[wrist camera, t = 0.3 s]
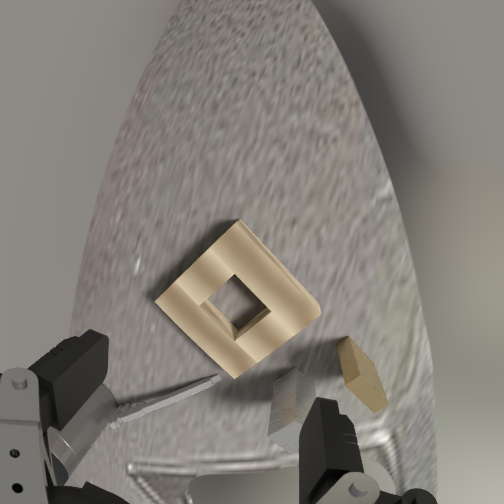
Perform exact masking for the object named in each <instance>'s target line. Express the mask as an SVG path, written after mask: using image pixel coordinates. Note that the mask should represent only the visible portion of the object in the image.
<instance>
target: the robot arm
mask: <svg viewBox="0 0 504 504" xmlns="http://www.w3.org/2000/svg"><path fill="white" fill-rule="evenodd" d="M108 347H109V339H108V336H106V335H103V334H101V333H99V332H96V331H94V330H91V329H89V330H88V331H86V332H85V333H84V334H83V335H81V336H80V337H76V336H74V337H71V338H68V339H65V340H63V341H62V342H61V343H59V344H58V345H57V346H56V347H54V348H53V349H51V350H50V352H48V353H46V354H45V355H44V356H43V357H41V358H40V359H39V360H38V361H36V362H35V363H34V364H33V365H31V366H30V367H29V368H28V369H25V368H12V369H9V370H7V371H6V372H4V374H2V373H0V504H130V503H128V502H127V501H125V500H124V499H122V498H121V497H119V496H117V495H115V494H113V493H111V492H108V491H106V490H104V489H102V488H99V487H97V486H95V485H93V484H91V483H89V482H87V481H86V483H85V484H84V486H83V487H82V488H78V487H72V486H64V484H65V483H66V482H67V480H68V479H69V477H70V476H71V475H72V473H73V472H74V470H75V469H76V467H77V466H78V464H79V463H80V462H81V460H82V459H83V457H84V456H85V455H86V453H87V452H88V450H89V449H90V448H91V446H92V445H93V443H94V442H95V441H96V439H97V438H98V436H99V435H100V434H101V432H102V431H103V430H104V428H105V427H106V426H107V424H108V423H109V421H110V419H111V417H112V415H113V413H114V412H115V411H116V409H117V404H116V401H115V399H114V397H113V395H112V394H111V392H110V391H109V390H108V389H107V388H106V387H105V386H104V385H103V384H102V382H103V381H104V379H105V377H106V374H107V370H108ZM357 443H358V442H357V437H356V433H355V428H354V425H353V423H352V422H351V421H350V419H349V418H348V416H347V415H342V414H340V413H339V408H338V403H337V401H336V400H331V399H326V398H320V397H317V398H316V399H315V400H314V402H313V404H312V406H311V409H310V411H309V413H308V415H307V417H306V419H305V421H304V423H303V425H302V428H301V431H300V435H299V504H437V501H436V499H435V498H434V496H433V495H432V494H431V493H429V492H428V491H426V490H423V489H418V488H415V489H410V490H408V491H407V492H405V493H404V495H403V496H402V497H401V496H398V495H394V494H390V493H387V492H383V491H380V489H379V486H378V484H377V482H376V481H375V480H374V479H373V478H371V477H370V476H368V475H366V474H364V470H363V465H362V460H361V455H360V451H359V446H358V445H357Z"/></svg>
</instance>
